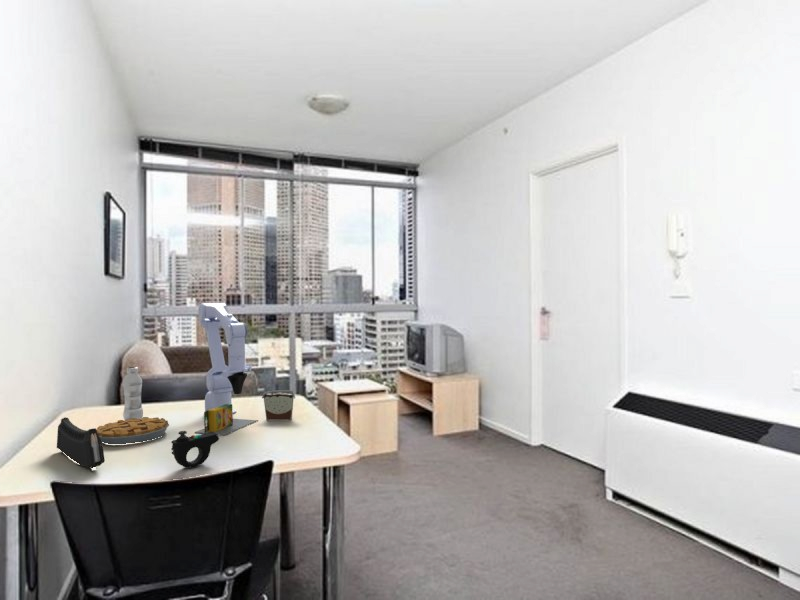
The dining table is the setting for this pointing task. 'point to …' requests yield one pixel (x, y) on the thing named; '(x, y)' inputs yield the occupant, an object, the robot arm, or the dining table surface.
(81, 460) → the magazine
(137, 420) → the pie
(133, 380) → the plastic bottle
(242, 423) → the rubber mat
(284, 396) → the food container
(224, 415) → the crayon box
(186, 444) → the controller
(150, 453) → the dining table surface
